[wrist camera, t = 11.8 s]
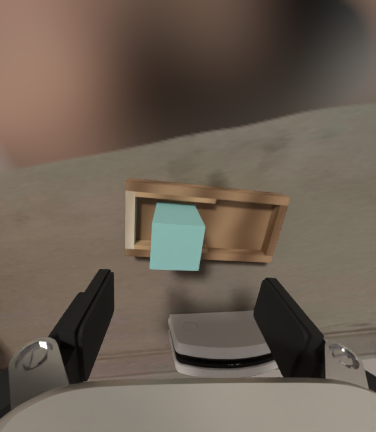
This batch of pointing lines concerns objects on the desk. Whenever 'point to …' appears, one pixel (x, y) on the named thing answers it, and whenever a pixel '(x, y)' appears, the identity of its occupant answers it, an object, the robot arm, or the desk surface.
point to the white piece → (219, 345)
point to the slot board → (209, 218)
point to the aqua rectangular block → (176, 237)
